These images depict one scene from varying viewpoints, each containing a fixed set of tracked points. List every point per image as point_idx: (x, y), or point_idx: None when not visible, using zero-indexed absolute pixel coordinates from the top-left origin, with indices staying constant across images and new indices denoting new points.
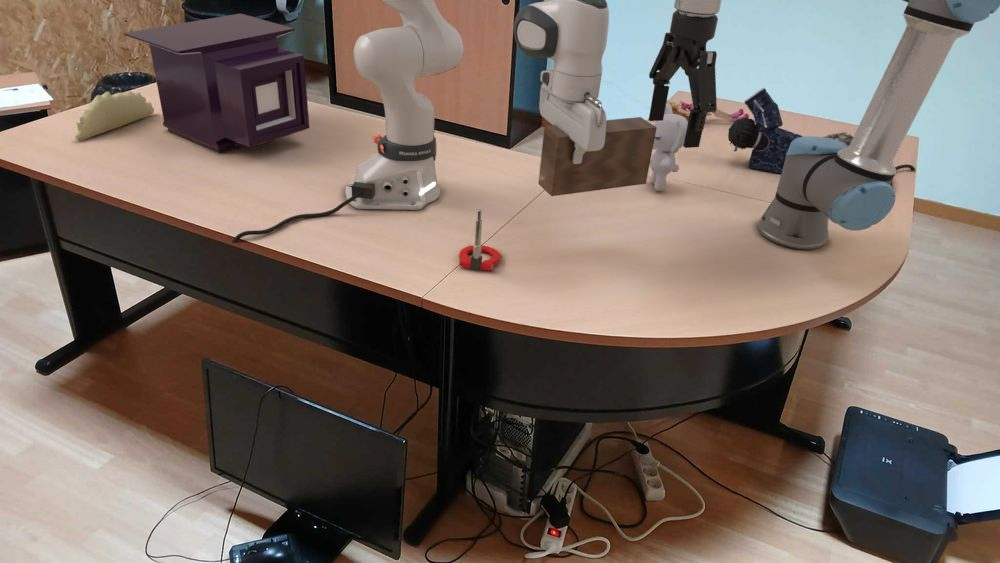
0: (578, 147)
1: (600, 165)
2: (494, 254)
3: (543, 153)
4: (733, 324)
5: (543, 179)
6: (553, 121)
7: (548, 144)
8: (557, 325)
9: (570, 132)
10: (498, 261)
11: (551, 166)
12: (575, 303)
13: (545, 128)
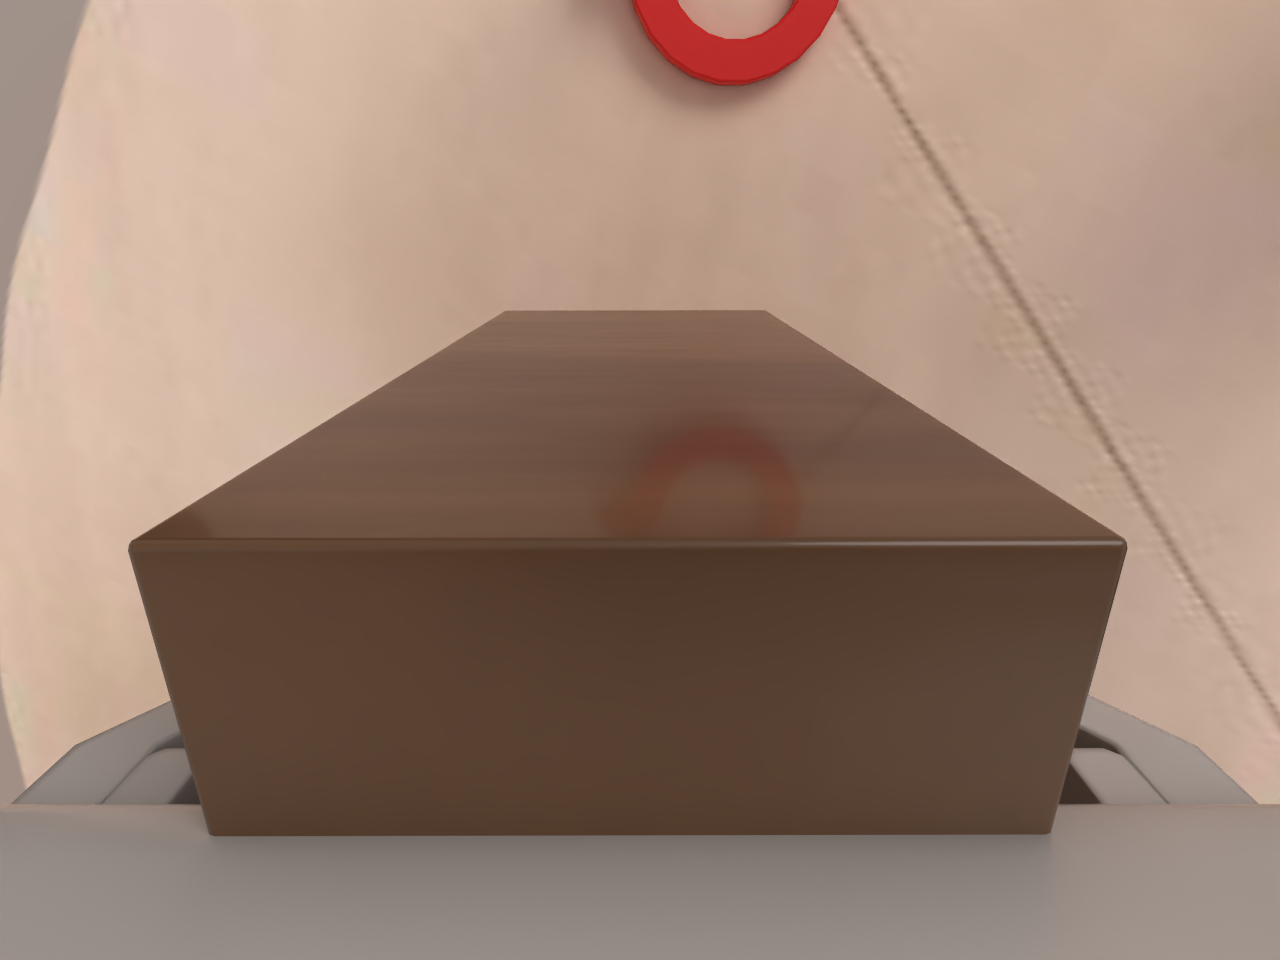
0: (37, 783)
1: None
2: (710, 43)
3: (796, 367)
4: (49, 735)
5: (683, 319)
6: (1196, 888)
7: (685, 415)
8: (78, 95)
9: (67, 956)
10: (658, 48)
11: (527, 354)
12: (244, 266)
13: (1013, 517)
